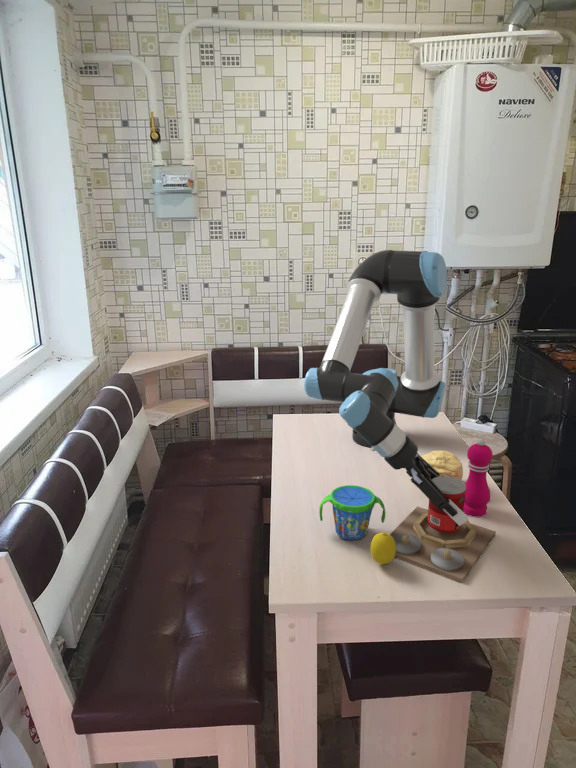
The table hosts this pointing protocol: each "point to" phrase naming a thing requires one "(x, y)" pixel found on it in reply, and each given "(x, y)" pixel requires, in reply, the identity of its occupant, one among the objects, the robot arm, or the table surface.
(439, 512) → the canned food
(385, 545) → the lemon
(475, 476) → the pepper mill
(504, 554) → the table surface
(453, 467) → the sculpture
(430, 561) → the board
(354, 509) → the snack cup
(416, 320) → the robot arm
